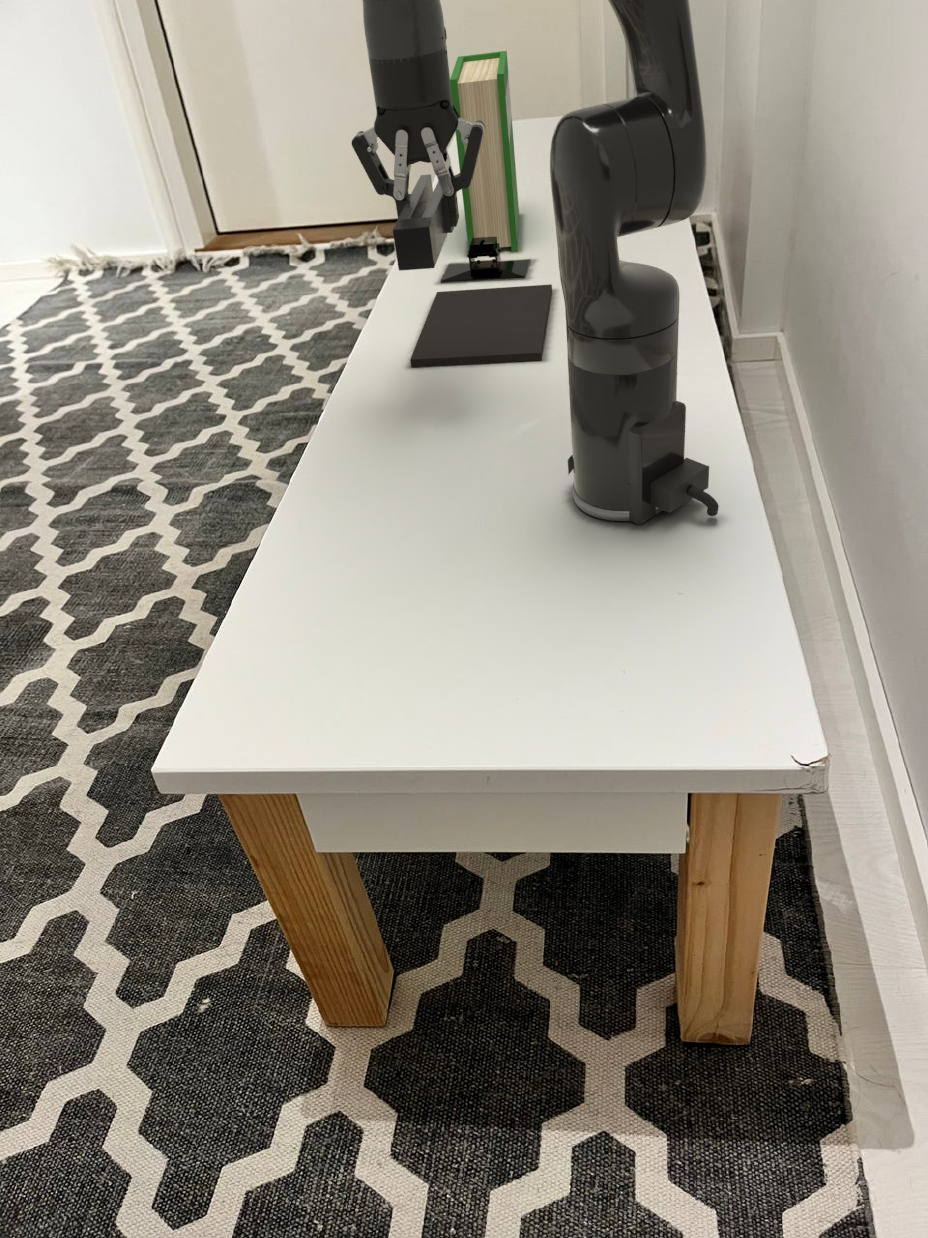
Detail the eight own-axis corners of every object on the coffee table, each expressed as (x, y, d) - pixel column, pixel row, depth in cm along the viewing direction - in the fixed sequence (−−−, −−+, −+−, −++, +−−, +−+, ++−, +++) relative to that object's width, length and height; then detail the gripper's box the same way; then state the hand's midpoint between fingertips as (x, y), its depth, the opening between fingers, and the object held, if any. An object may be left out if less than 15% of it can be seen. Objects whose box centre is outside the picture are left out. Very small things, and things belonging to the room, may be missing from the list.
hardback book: (517, 251, 146) (503, 73, 131) (469, 256, 147) (449, 79, 132) (519, 215, 160) (506, 50, 145) (475, 219, 160) (457, 56, 145)
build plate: (440, 283, 139) (435, 251, 137) (449, 265, 145) (445, 234, 142) (525, 278, 137) (522, 245, 134) (531, 260, 142) (528, 228, 139)
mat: (541, 360, 115) (541, 352, 115) (411, 367, 118) (410, 359, 117) (552, 291, 132) (551, 283, 131) (437, 298, 135) (436, 291, 134)
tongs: (434, 268, 95) (428, 226, 92) (398, 270, 95) (392, 229, 93) (456, 209, 108) (452, 171, 106) (425, 212, 109) (420, 174, 106)
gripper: (326, 62, 90) (359, 249, 100) (476, 46, 87) (493, 239, 98) (343, 47, 95) (372, 225, 106) (484, 31, 93) (500, 215, 104)
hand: (430, 231), depth 102 cm, fingers closed on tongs, 3 cm apart
